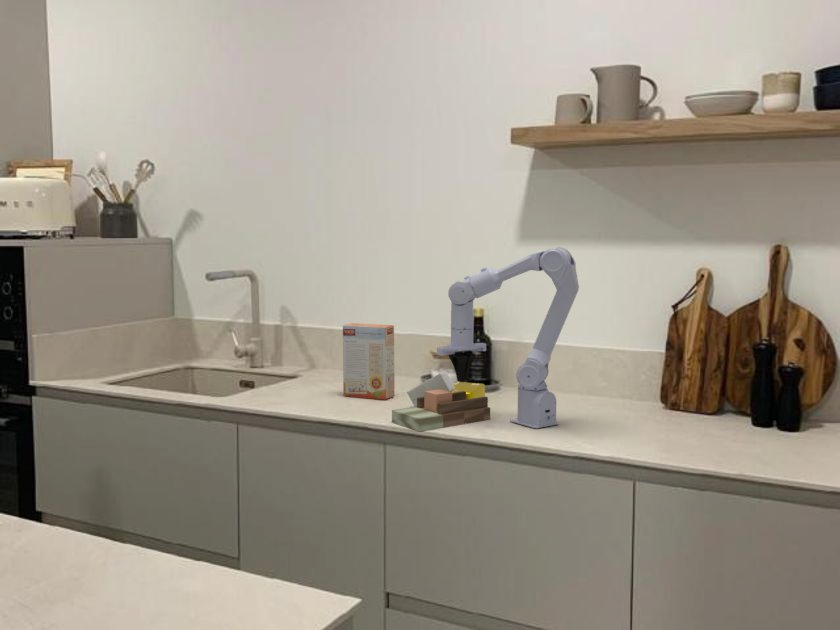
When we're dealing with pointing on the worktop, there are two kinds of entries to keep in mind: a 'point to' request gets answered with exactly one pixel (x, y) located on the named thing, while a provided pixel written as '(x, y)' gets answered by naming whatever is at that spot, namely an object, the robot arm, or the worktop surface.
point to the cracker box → (368, 361)
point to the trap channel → (443, 413)
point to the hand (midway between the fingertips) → (461, 381)
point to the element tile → (470, 389)
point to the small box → (431, 386)
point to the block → (436, 399)
